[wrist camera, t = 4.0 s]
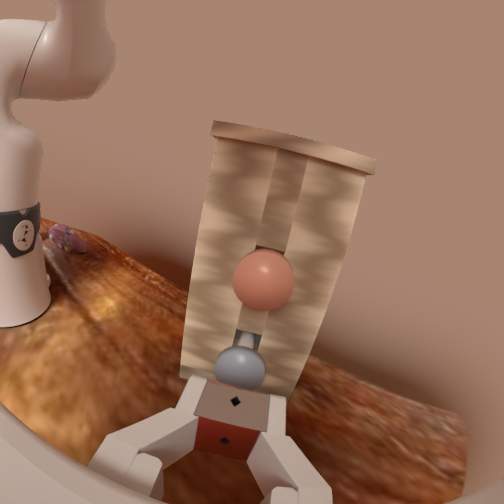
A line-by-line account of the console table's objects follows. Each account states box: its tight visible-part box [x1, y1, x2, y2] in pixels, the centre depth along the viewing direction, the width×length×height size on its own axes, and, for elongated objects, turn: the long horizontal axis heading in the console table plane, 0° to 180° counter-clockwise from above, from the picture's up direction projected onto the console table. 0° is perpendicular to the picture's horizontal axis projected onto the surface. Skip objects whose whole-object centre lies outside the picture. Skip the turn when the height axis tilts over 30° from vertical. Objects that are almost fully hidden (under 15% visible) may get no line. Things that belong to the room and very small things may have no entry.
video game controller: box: [48, 224, 88, 253], centre depth 48 cm, size 10×5×7 cm, turn 77°
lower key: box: [214, 329, 266, 390], centre depth 24 cm, size 4×9×4 cm, turn 173°
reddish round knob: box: [232, 245, 294, 311], centre depth 22 cm, size 4×9×4 cm, turn 173°
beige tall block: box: [179, 120, 377, 404], centre depth 25 cm, size 13×6×25 cm, turn 83°
